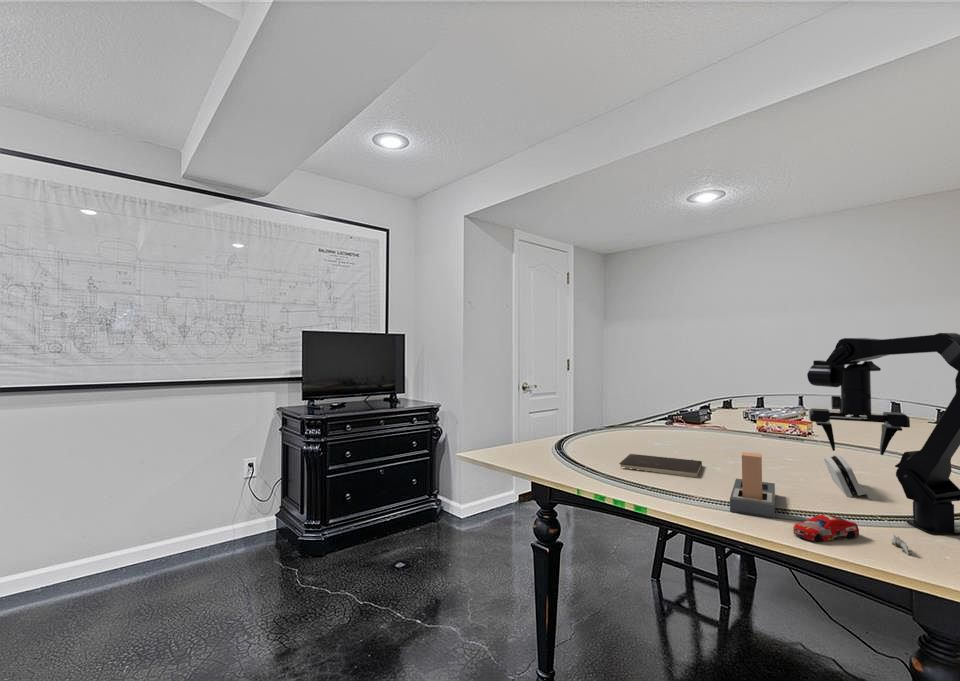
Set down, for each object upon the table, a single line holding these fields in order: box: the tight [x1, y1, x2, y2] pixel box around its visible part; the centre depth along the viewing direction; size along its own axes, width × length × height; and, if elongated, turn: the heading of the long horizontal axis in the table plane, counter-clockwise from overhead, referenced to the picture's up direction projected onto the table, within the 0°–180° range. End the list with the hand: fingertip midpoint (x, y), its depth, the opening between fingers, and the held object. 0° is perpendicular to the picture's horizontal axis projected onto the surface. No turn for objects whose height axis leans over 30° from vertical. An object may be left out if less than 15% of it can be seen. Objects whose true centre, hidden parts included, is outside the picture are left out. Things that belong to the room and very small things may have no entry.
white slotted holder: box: [823, 454, 872, 500], centre depth 127 cm, size 17×5×10 cm, turn 153°
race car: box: [792, 514, 860, 543], centre depth 96 cm, size 13×5×4 cm, turn 99°
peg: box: [741, 451, 763, 500], centre depth 113 cm, size 4×4×13 cm
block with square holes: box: [729, 478, 776, 519], centre depth 117 cm, size 20×9×3 cm, turn 147°
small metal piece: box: [890, 534, 912, 556], centre depth 89 cm, size 6×2×3 cm, turn 160°
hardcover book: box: [618, 453, 703, 478], centre depth 152 cm, size 16×23×2 cm
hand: (857, 452), depth 114 cm, fingers open, 9 cm apart
